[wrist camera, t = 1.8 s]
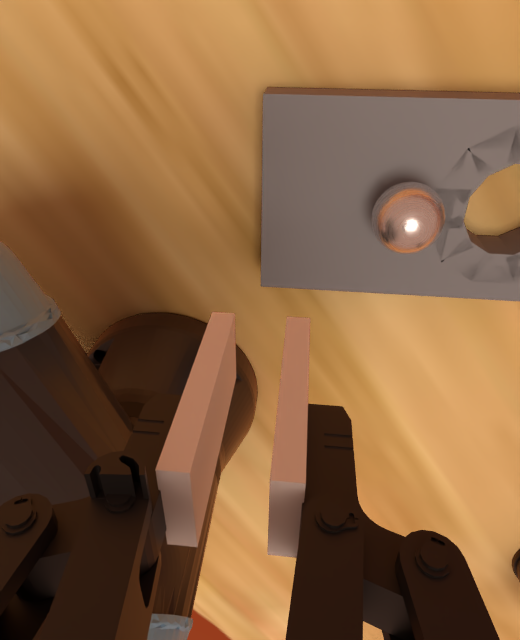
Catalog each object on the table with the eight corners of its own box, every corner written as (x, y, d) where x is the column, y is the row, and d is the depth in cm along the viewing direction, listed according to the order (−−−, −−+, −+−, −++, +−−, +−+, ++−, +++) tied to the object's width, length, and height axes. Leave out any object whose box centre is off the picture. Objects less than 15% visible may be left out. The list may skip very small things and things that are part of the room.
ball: (364, 236, 30) (370, 263, 26) (373, 171, 28) (380, 193, 24) (429, 239, 29) (443, 267, 26) (443, 174, 27) (461, 196, 24)
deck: (265, 267, 35) (260, 286, 32) (267, 87, 29) (263, 93, 26) (547, 282, 33) (566, 304, 31) (618, 95, 27) (650, 103, 24)
